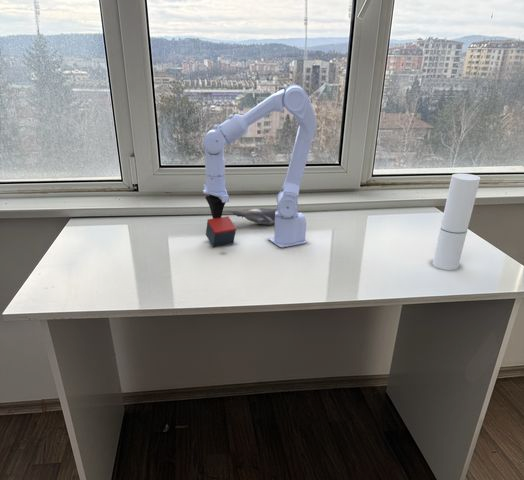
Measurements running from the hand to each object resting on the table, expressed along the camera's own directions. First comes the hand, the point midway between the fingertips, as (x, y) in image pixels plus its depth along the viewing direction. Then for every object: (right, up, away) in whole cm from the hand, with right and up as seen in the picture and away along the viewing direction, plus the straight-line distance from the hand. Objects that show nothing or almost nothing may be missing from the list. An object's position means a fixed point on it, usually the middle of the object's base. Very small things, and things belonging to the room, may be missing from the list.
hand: (217, 219), depth 153 cm
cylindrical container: (+68, -16, -9) cm, 70 cm away
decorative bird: (+11, +3, +18) cm, 21 cm away
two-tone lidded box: (+1, -6, +2) cm, 6 cm away
